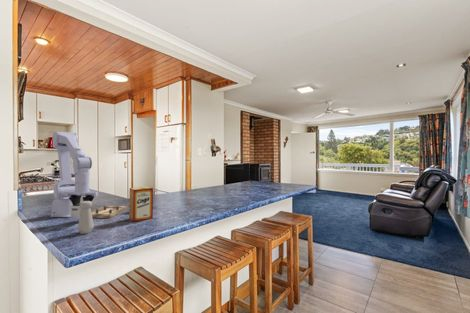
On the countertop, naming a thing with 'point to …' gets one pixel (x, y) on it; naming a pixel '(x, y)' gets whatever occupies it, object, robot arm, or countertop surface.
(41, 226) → the countertop surface
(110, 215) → the pin tray
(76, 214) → the drive block
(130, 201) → the baking soda box
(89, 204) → the salt shaker
